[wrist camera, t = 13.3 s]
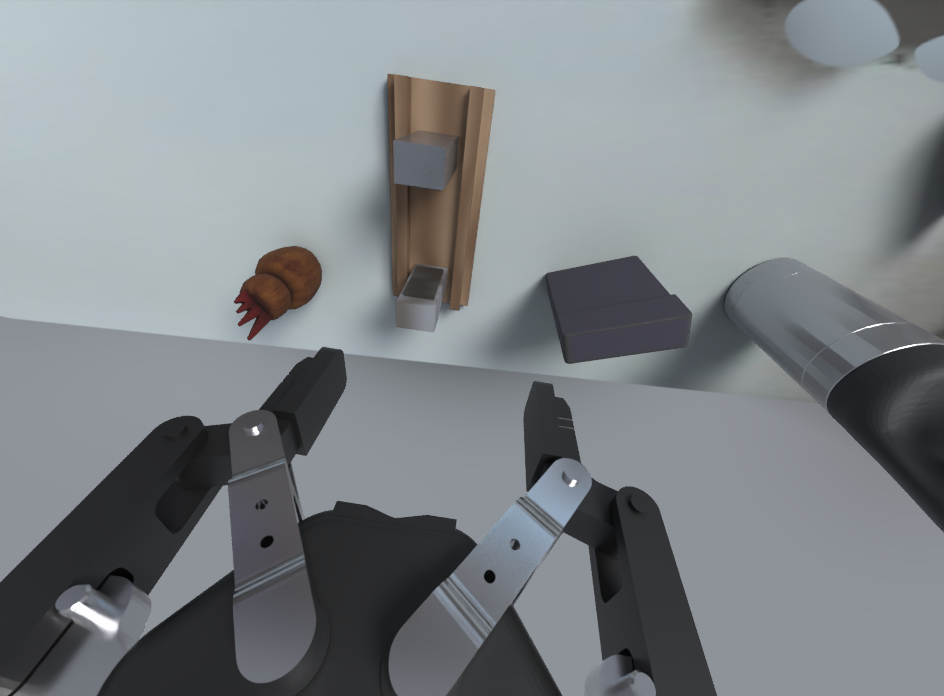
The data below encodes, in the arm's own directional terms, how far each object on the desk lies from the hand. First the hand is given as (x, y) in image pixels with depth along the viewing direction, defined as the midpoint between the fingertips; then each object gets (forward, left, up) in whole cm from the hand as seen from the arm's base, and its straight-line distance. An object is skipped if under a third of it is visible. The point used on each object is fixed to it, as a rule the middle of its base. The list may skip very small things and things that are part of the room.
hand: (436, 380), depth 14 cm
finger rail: (+5, +1, -30) cm, 31 cm away
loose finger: (+5, -5, -29) cm, 29 cm away
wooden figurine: (+22, +11, -30) cm, 39 cm away
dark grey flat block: (-15, +7, -30) cm, 35 cm away
